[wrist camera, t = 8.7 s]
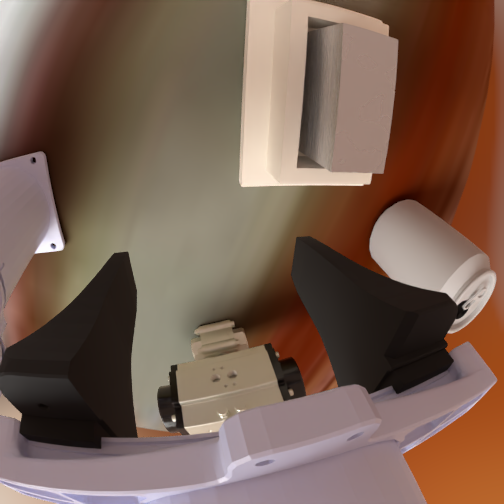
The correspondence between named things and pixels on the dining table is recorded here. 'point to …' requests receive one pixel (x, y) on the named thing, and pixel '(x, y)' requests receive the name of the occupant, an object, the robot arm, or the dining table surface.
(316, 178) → the hollow block
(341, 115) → the grey block
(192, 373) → the pneumatic valve
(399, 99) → the dining table surface
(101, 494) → the robot arm
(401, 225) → the can
